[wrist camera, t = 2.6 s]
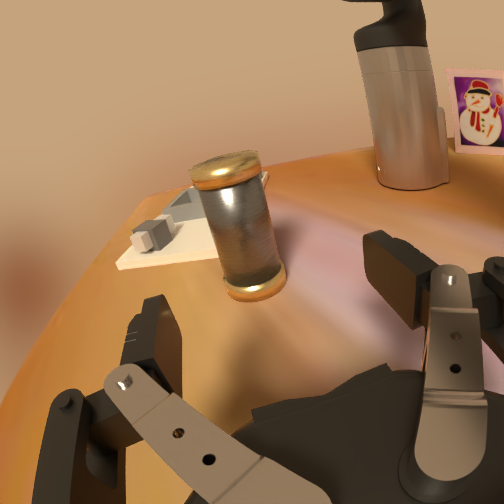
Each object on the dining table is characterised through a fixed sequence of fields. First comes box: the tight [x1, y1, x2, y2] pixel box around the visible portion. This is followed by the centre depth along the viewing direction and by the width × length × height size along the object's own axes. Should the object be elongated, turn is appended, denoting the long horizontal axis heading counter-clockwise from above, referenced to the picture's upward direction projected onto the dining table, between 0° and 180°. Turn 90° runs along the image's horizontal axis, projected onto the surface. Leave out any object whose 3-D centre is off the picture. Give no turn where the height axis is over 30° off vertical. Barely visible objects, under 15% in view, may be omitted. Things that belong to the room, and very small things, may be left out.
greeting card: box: [446, 68, 504, 156], centre depth 41 cm, size 11×7×15 cm, turn 59°
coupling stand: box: [116, 162, 269, 270], centre depth 43 cm, size 14×26×4 cm, turn 170°
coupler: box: [189, 150, 287, 302], centre depth 23 cm, size 5×5×10 cm
